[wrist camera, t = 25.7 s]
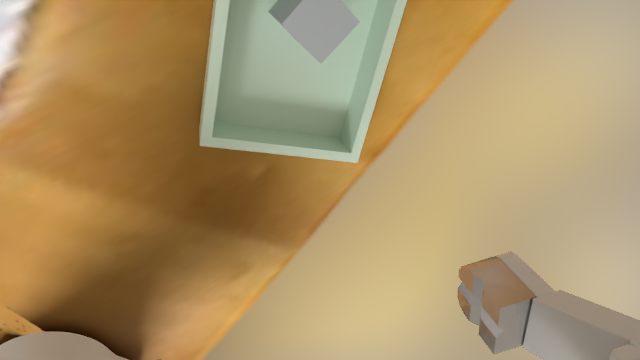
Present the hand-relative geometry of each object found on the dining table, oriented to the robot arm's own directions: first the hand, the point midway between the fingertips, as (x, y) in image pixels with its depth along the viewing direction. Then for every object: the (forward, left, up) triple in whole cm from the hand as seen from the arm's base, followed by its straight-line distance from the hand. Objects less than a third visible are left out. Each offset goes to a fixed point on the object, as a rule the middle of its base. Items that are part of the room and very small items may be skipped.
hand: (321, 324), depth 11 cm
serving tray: (+1, -6, -33) cm, 34 cm away
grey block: (+5, -6, -32) cm, 33 cm away
